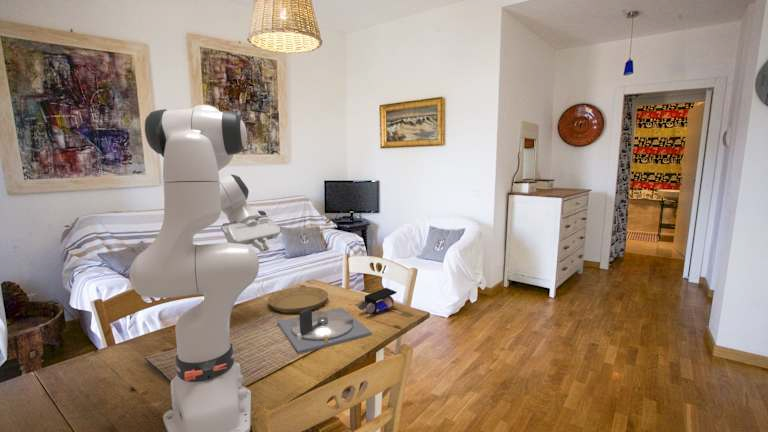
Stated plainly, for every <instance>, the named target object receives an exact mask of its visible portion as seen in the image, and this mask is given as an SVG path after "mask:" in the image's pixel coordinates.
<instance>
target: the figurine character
mask: <svg viewBox="0 0 768 432" xmlns="http://www.w3.org/2000/svg"><path fill="white" fill-rule="evenodd" d="M395 294H397V291H396V290H393V289H391V288H388V287H384V288H382V289H378V290H376V291H374V292H370V293H369V294H366V295H364V300H363V299H362V300H360V301H358V303H357V308H358V309H359V310H361V311H364V310H365V311H366V312H364V315H367V314H369V317H372V316H374V315H376V313H377V312H380V311H383V310H386V309H390V308H392V307H393V306H394V304H395V300H394V298H393V297H392V296H393V295H395Z"/></svg>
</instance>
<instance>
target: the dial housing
mask: <svg viewBox="0 0 768 432" xmlns="http://www.w3.org/2000/svg"><path fill="white" fill-rule="evenodd" d="M327 311H334V312H340V313H344V314H347V315H349V316H350V317H351V318H352V319H353V328H352V329H351V330H350V331H349V332H348V333H346V334H344V335H342V336H339V337H336V338H332V339H328V336H327V335H325V340H308V339H303V338H302V335H301V334H300V333H299V334H297V336H296V335H294V334H293V332H292V328H291V326H292V323H293V322H294V321H295V320H296V319H298V318H299V317H300V316H296V317H290V318H286V319H282V320H277V321H276V323H277V326H278V327H279V328H280V330H281V331H282V333H283V334H284V336H285V337H286V338H287V340H288V341H289V343H290V344H291V346H292V347H293V348H294V350H295V352H296V351H297V352H296V353H297V355H301V354H304V353H303V352H305V353H308V351H309V352H311V351H315V350H320V349H323V348H328V347H331V346H335V345H338V344H344V343H346V342H350V341H355V340H358V339H362V338H366V337H369V336H372V335H373V334H372V333H373V332H372V330H370V329H369V328H367V327H366V326H365V325H364V324H363V323H361V321H359V320H358V319H356V317H354V316H353V315H351V314H350V313H349V312H348V311H347V310H346V309H344V308H343V307H337V308H334V309H328V310H327ZM300 353H301V354H300Z"/></svg>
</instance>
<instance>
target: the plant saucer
mask: <svg viewBox="0 0 768 432" xmlns="http://www.w3.org/2000/svg"><path fill="white" fill-rule="evenodd" d="M328 298H329V293H328V291H327V290H325V289H322V288H320V287H316V286H315V287H314V286H296V287H291V288H285V289H282V290H279V291H277V292H275V293H273V294H271V295H270V296H269V297H267V304H269V306H270V307H271V308H272V309H273V310H275V311H277V312H280V313H285V314H287V313H288V314H299V313H300V312H302V311H304V310H306V309H308V308H311V309H312V311H314V310H316V309H318V308H320V307H321V306H322V305H323V304H324V303H325V302H326V301H327V300H328Z"/></svg>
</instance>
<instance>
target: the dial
mask: <svg viewBox="0 0 768 432" xmlns="http://www.w3.org/2000/svg"><path fill="white" fill-rule="evenodd" d="M298 314H299V316H298V317H299V318H298V319H296V320H295V321H294V322H293V323H292V326H291V328H292V332H293V334H294V335H296V336H297V334H299V333H300V334H301V335H302V338H303V339H308V340H325V335H327V336H328V339H332V338H336V337H339V336H342V335H344V334H346V333H348V332H349V331H350V330H351V329H352V328H353V319H352V318H351V317H350V316H349V315H347V314H344V313H340V312H334V311H328V310H322V311H315V312H313V310H312V309H311V308H308V309H306V310H304V311H302V312H300V313H298Z"/></svg>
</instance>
